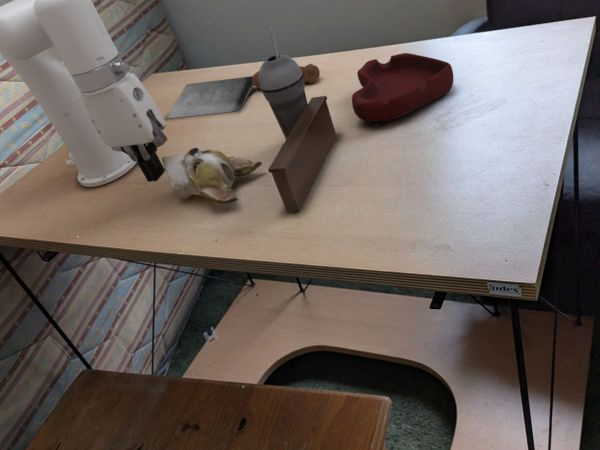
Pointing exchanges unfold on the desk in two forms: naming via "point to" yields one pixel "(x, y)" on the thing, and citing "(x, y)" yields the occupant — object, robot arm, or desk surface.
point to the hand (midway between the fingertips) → (156, 176)
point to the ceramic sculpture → (206, 174)
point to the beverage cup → (283, 88)
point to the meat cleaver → (223, 94)
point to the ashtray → (399, 86)
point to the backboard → (303, 154)
